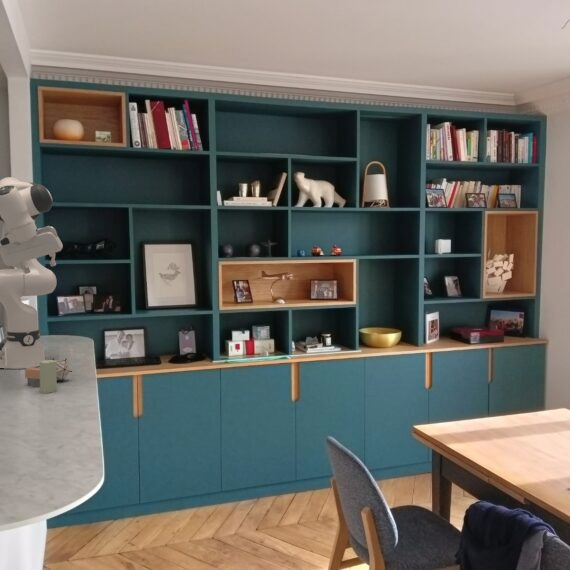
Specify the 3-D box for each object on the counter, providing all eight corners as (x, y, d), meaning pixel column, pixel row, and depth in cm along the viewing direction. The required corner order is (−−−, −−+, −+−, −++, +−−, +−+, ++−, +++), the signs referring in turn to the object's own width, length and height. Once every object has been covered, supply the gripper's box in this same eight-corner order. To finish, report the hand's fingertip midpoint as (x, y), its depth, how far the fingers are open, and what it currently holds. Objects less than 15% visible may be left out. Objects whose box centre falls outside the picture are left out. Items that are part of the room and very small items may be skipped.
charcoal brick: (27, 385, 200) (27, 376, 199) (36, 383, 202) (36, 375, 201) (33, 388, 195) (33, 379, 195) (42, 386, 197) (42, 378, 197)
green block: (40, 391, 191) (39, 361, 190) (52, 389, 193) (51, 359, 193) (44, 393, 188) (43, 363, 187) (56, 391, 190) (56, 361, 190)
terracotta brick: (25, 377, 198) (24, 368, 198) (31, 375, 201) (31, 367, 200) (38, 378, 196) (38, 370, 196) (45, 377, 199) (45, 368, 198)
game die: (63, 390, 207) (81, 367, 209) (52, 387, 199) (70, 363, 201) (45, 376, 209) (63, 353, 211) (33, 373, 201) (52, 349, 203)
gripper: (55, 222, 199) (71, 258, 204) (-1, 238, 199) (16, 274, 204) (50, 226, 193) (67, 264, 199) (-8, 243, 193) (10, 280, 199)
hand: (41, 269), depth 202 cm, fingers open, 8 cm apart
